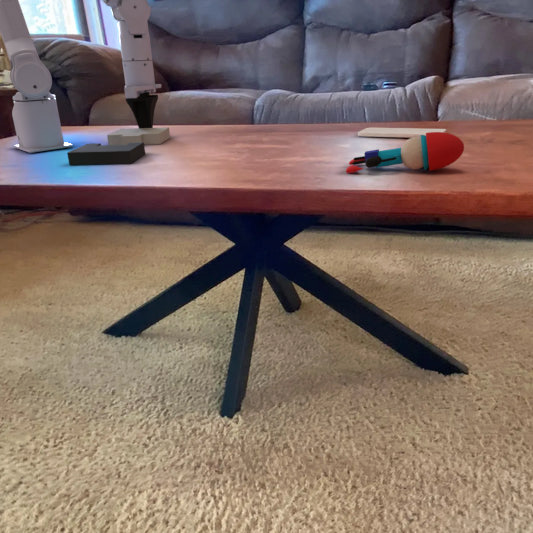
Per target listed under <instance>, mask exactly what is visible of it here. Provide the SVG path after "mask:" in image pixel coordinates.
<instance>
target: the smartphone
mask: <svg viewBox="0 0 533 533" xmlns="http://www.w3.org/2000/svg"><path fill="white" fill-rule="evenodd" d="M429 132H443V133H447V129H446V128H421V127H420V128H418V127H417V128H416V127H415V128H414V127H366V128H364V129H361V130H359V131H358V132H357V136H358V137H378V138H379V137H380V138H413V137H421V135H425V136H426V133H429Z"/></svg>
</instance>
